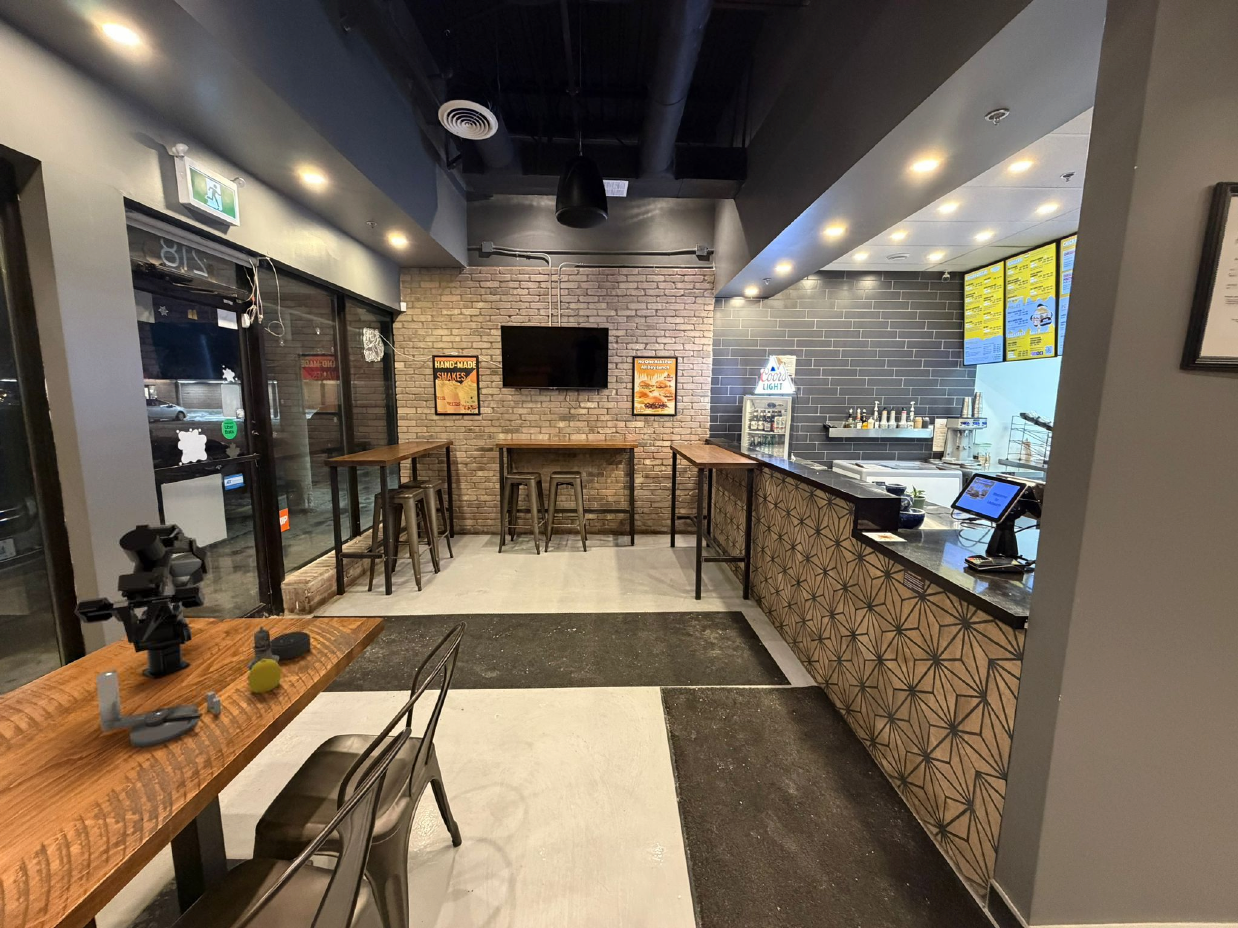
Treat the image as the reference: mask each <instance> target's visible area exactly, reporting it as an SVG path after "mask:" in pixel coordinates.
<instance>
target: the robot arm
mask: <svg viewBox="0 0 1238 928" xmlns="http://www.w3.org/2000/svg"><path fill="white" fill-rule="evenodd" d="M118 542H119V543H118V544H119V547H120V548H121V549H122V551H123V552H124V554H125V555H126V557H127V558H128V560H129V561H130V562H131V563H134V566H133V570H132V573H127V574H120V575H118V581H117V582H118V583H117V592H121V597H122V598H123V599H118V600H113V601H112V602H111V601H110V600H109V598H107V597H106V596H105V597H98V598H97V597H96V598H90V599H89V598H88V599H83V600H80V601H79V602H78V603H77V604H76V605H75V609H74V612H73V613H74V614H75V615H76V617H78V618H79V619H80V620H81V621H82V622H83V623H84V624H93V623H100V622H107V621H109V620H110V619H112V618H113V617H114V618H115V619H116V620H117V622H119V623H120V622H121V623H122V624H123V627H124V632H125V634H126V639H127V641H128V642H127V643H128V644H129V645H130V644H132V645H133V647H134V650H135V651H134V652H135V653H140V652H145V651H146V653H147V665H148V668H144V669H142V670H141V674H144V675H145V676H148V677H150V678H152V679H158V678H161V677H163V676H166V675H168V674H171V673H174V672H176V671H180V670H181V669H184V668H188V667H189V666H191V662H188V661H187V660H183V649H182V645H186V643H187V642H189V641H192V640H193V635H192V628H191V626H190V625H189V623H188V621H187V620H186V618H184V615H183V610H184V609H193V608H194V609H195V608H199V607H203V606H204V605H205V600H206V597H205V595H206V594H205V593H204V591H203V589H202V587H201V586H200V585H199V584H200V583H202V582H204V580H205V579H206V577H207V576H208V575H207V574H210V569H211V564H210V559H209V554H208V552H206V551H205V550H204V549H203V548H201V547H200V546H198V543H197V539H196V538H194V537H189V536H186V535H185V532H184V531H183V529H182V528H181V527H180V526H179V525H178V524H176V523H173V524H158V525H150V524H149V523H147V524H139V525H138V524H137V525H135V529H132V530H130V531H128V532H126V533H125V534H124V535H122V536H121V537H120V539H119V541H118ZM188 553H190V554H192V555H193V556H194V557H195V558H191V559H189V558H188V559H179V560H173V561H172V558H173V556H174V555H178V554H179V555H180V554H188ZM125 598H126V599H125ZM142 608H146V609H144V610H143V611H142V613H141V614H140V615H141V616H140V617H139V616H138V615H137V613H135V612H136V609H142Z"/></svg>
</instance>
